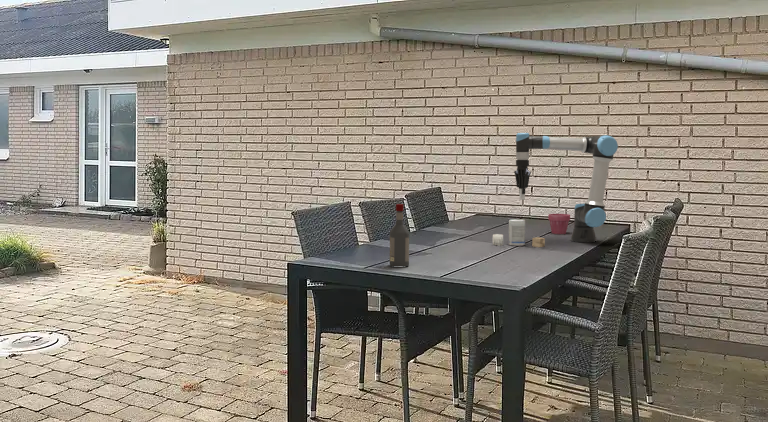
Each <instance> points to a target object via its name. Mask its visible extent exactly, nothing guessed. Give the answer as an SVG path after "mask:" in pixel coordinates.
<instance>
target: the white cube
mask: <svg viewBox="0 0 768 422" xmlns="http://www.w3.org/2000/svg"><path fill="white" fill-rule="evenodd" d="M492 246H495V247H496V246H498V247H500V246H504V234H501V233H495V234H494V233H493V234H492Z"/></svg>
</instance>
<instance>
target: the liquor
mask: <svg viewBox="0 0 768 422" xmlns="http://www.w3.org/2000/svg"><path fill="white" fill-rule="evenodd" d="M395 211H396V213H395V214H396V215H395V216H396V217H395V218H396V220H395V224H394V225H393V227H392V228H391V229H390V231H389V266H390V267H391V266H408V267H409V266H410V232H409V229H408V228H407V227H406V226H405V225H404V216H403V215H404V203H397V204H395Z"/></svg>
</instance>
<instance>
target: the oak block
mask: <svg viewBox="0 0 768 422" xmlns="http://www.w3.org/2000/svg"><path fill="white" fill-rule="evenodd" d="M545 241H546V238H545V237H538V236H537V237H532V244H531V245H532V247H534V248H543V247H544V248H545V245H546V242H545Z"/></svg>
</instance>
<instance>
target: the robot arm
mask: <svg viewBox="0 0 768 422" xmlns="http://www.w3.org/2000/svg"><path fill="white" fill-rule="evenodd" d="M617 141H618V140H616V139H615V138H614V136H610V135H608V134H607V135H605V134H604V135H595V136H582V137H581V138H579V137H578V138H577V137H558V136H555V137H554V136H548V135H535V136H534V135H530V133H529V132H518V133H516V137H515V159H516V160H515V166H516V167H517V168H516V170H514V171H513V173H514V176H515V182H516V183H515V184H516V187H517V188H518V189H519V193H518V194H519V200H520V201H524V200H526V195H525V194H526V189H528V188H529V183H530V177H531V171H529V168H528V167H529V166H530V160H529V159H530V150H555V151H573V152H574V151H577V152H581V153H585V154H591V155H592V159H593V168H592V173H591V180H590V186H589V190H588V191H589V193H588V198H587V200H586V201H585V202H584V203H576V204H575V206H574V209H573V210H574V217H573V218H574V219H573V220H574V221H573V225H574V226H573V231H572V234H571V236H570V241H571V242H574V241H575V243H596V242H597V236H596V232H595V228H599V227H601V226H602V225H604V223H605V222H606V220H607V214H606V212H605V208H606V205H605V203H604V198H605V192H606V186H607V181H608V180H607V179H608V174H609V169H610V162H612V161H613V160H614V154H616V153H617V151H618V148H619V145H618V142H617ZM595 241H596V242H595Z"/></svg>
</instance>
